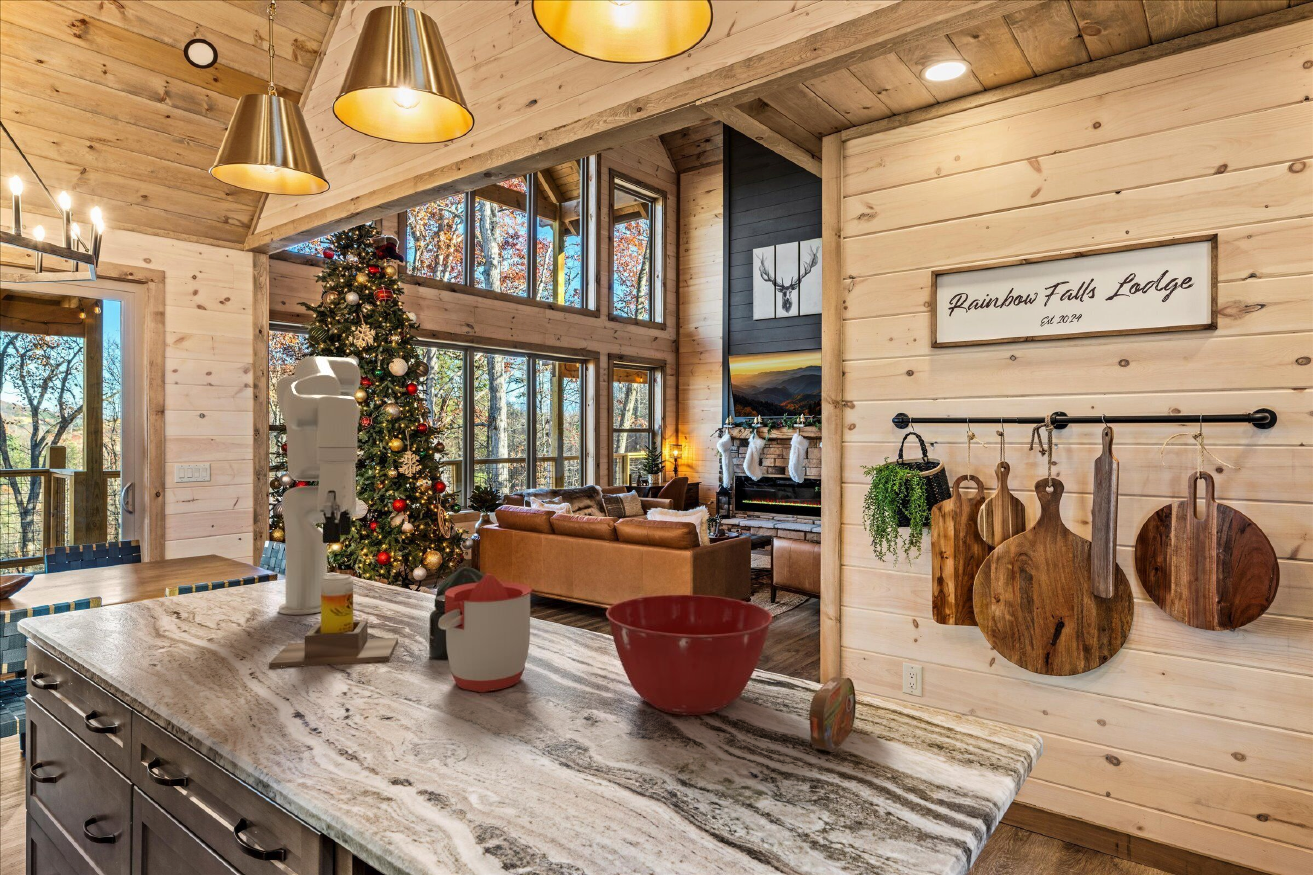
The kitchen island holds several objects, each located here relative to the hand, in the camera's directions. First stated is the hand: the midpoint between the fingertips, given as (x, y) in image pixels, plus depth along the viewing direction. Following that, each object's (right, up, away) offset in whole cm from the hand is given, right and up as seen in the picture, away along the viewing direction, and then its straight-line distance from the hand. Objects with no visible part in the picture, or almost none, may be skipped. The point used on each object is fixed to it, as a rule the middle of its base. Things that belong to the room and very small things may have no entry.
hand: (337, 538), depth 147 cm
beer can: (0, -23, 0) cm, 23 cm away
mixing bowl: (+71, -25, -24) cm, 79 cm away
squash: (+21, -24, +23) cm, 39 cm away
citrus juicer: (+34, -24, -16) cm, 45 cm away
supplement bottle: (+23, -24, 0) cm, 33 cm away
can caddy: (0, -24, 0) cm, 24 cm away
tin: (+93, -25, -39) cm, 104 cm away
